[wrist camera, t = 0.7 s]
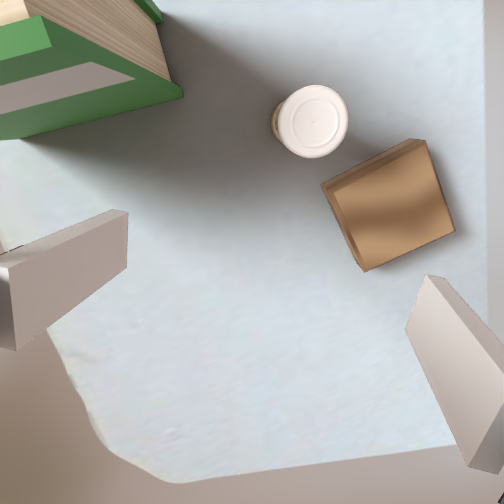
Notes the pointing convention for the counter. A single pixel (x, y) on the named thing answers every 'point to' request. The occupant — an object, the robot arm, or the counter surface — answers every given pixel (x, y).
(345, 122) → the sprinkles bottle
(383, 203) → the walnut base
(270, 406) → the counter surface
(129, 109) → the hardback book
